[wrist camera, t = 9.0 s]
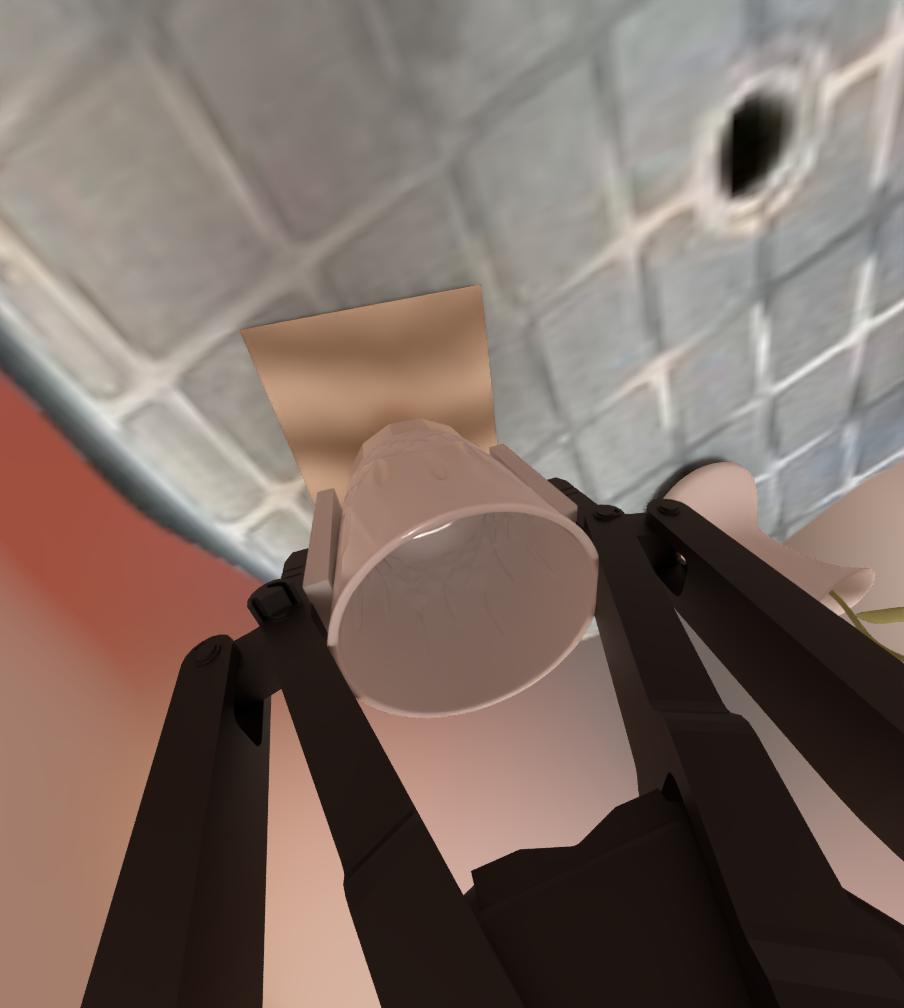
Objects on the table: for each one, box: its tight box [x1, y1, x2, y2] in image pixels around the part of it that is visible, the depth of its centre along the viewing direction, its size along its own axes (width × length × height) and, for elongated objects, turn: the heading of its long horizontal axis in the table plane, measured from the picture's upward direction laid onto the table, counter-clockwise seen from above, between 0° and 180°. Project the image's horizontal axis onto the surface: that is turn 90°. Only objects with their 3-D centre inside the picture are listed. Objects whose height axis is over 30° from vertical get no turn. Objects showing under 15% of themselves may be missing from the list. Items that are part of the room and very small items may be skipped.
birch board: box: [240, 284, 497, 510], centre depth 25 cm, size 16×14×1 cm
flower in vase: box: [663, 462, 904, 662], centre depth 26 cm, size 13×11×25 cm
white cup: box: [328, 418, 599, 718], centre depth 14 cm, size 8×8×10 cm
